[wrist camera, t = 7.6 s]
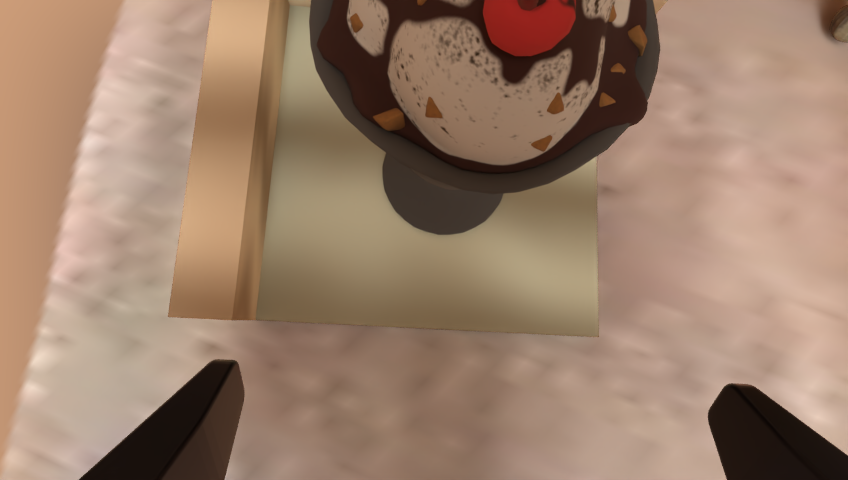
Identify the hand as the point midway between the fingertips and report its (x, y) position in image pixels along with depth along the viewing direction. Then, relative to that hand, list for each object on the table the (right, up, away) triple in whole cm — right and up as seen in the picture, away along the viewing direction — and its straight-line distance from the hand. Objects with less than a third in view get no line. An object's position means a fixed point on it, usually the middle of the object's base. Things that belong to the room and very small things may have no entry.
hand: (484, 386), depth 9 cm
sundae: (0, +5, +10) cm, 11 cm away
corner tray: (-1, +7, +11) cm, 13 cm away
